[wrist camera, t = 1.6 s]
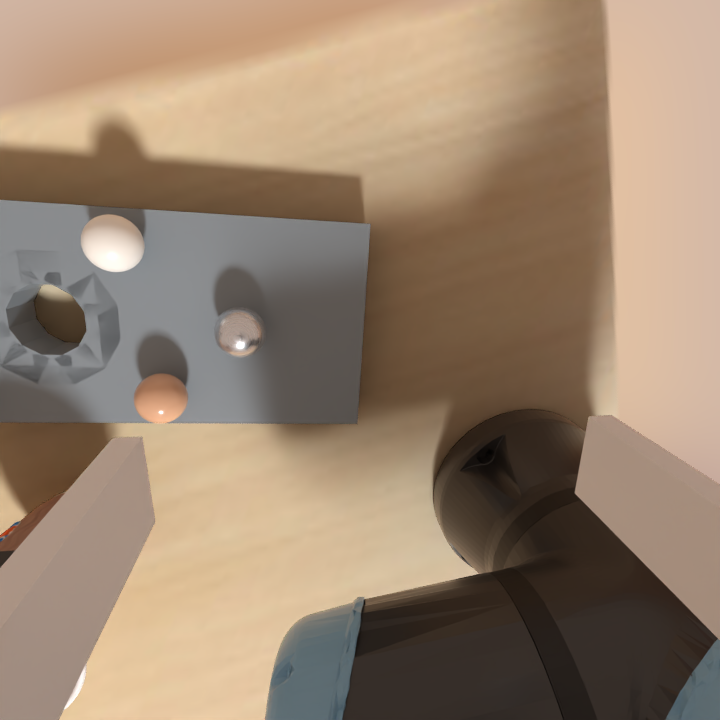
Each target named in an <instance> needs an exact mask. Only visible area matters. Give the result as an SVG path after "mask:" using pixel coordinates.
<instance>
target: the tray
mask: <svg viewBox="0 0 720 720" xmlns="http://www.w3.org/2000/svg"><path fill="white" fill-rule="evenodd" d="M106 214H112V215H117V216H121V217H123V218H125V219H127V220H129V221H130V222H132V223H133V224H134V225H135V226H136V227H137V228H138V229H139V231H140V232H141V234H142V237H143V240H144V245H145V249H144V254H143V257H142V259H141V260H140V262H139V263H138V264H137V265H136V266H135V267H133V268H131V269H129V270H127V271H123V272H110V271H106V270H103V269H101V268H99V267H97V266H96V265H94V264H93V263H92V262H91V261H90V260H89V259H88V258H87V257H86V255H85V254H84V252H83V250H82V246H81V233H82V230H83V228H84V227H85V225H86V224H87V223H88V222H89V221H90V220H91V219H93V218H95V217H97V216H100V215H106ZM369 239H370V224H363V223H348V222H333V221H317V220H302V219H287V218H271V217H256V216H241V215H225V214H210V213H194V212H179V211H164V210H148V209H133V208H118V207H102V206H87V205H72V204H56V203H41V202H25V201H10V200H0V422H27V423H153V422H150V421H147V420H145V419H144V418H143V417H141V416H140V415H139V413H138V412H137V410H136V408H135V406H134V393H135V390H136V388H137V386H138V385H139V384H140V382H141V381H143V380H144V379H145V378H147V377H148V376H151V375H154V374H159V373H165V374H170V375H173V376H175V377H177V378H178V379H180V380H181V381H182V382H183V384H184V385H185V387H186V389H187V392H188V404H187V406H186V409H185V410H184V412H183V413H182V414H181V415H180V416H179V417H178V418H176V419H175V420H173V421H171V422H167V423H258V424H357V422H358V407H359V392H360V376H361V361H362V346H363V331H364V315H365V300H366V285H367V270H368V255H369ZM44 284H50V285H54V286H56V287H58V288H59V289H61V290H63V291H65V292H67V293H69V294H71V295H72V296H73V297H74V299H75V300H76V302H77V303H78V304H79V306H80V307H81V308H82V310H83V311H84V314H85V322H86V333H85V335H84V337H83V339H82V340H81V342H80V343H69V342H64V341H62V340H60V339H58V338H56V337H54V336H52V335H50V334H48V333H47V331H46V330H45V329H44V328H43V326H42V325H41V324H40V322H39V321H38V320H37V319H36V312H35V306H34V300H35V298H36V296H37V294H38V291H39V289H40V287H41V286H42V285H44ZM233 307H246V308H249V309H251V310H253V311H255V312H256V313H258V314H259V315H260V317H261V318H262V319H263V321H264V323H265V326H266V340H265V343H264V344H263V346H262V348H261V349H260V350H259V351H258V352H257V353H255V354H254V355H252V356H249V357H245V358H236V357H232V356H229V355H227V354H226V353H224V352H223V351H222V350H221V349H220V348H219V347H218V345H217V344H216V341H215V338H214V325H215V323H216V321H217V319H218V317H219V316H220V315H221V314H222V313H223V312H224V311H226V310H228V309H230V308H233Z"/></svg>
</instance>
